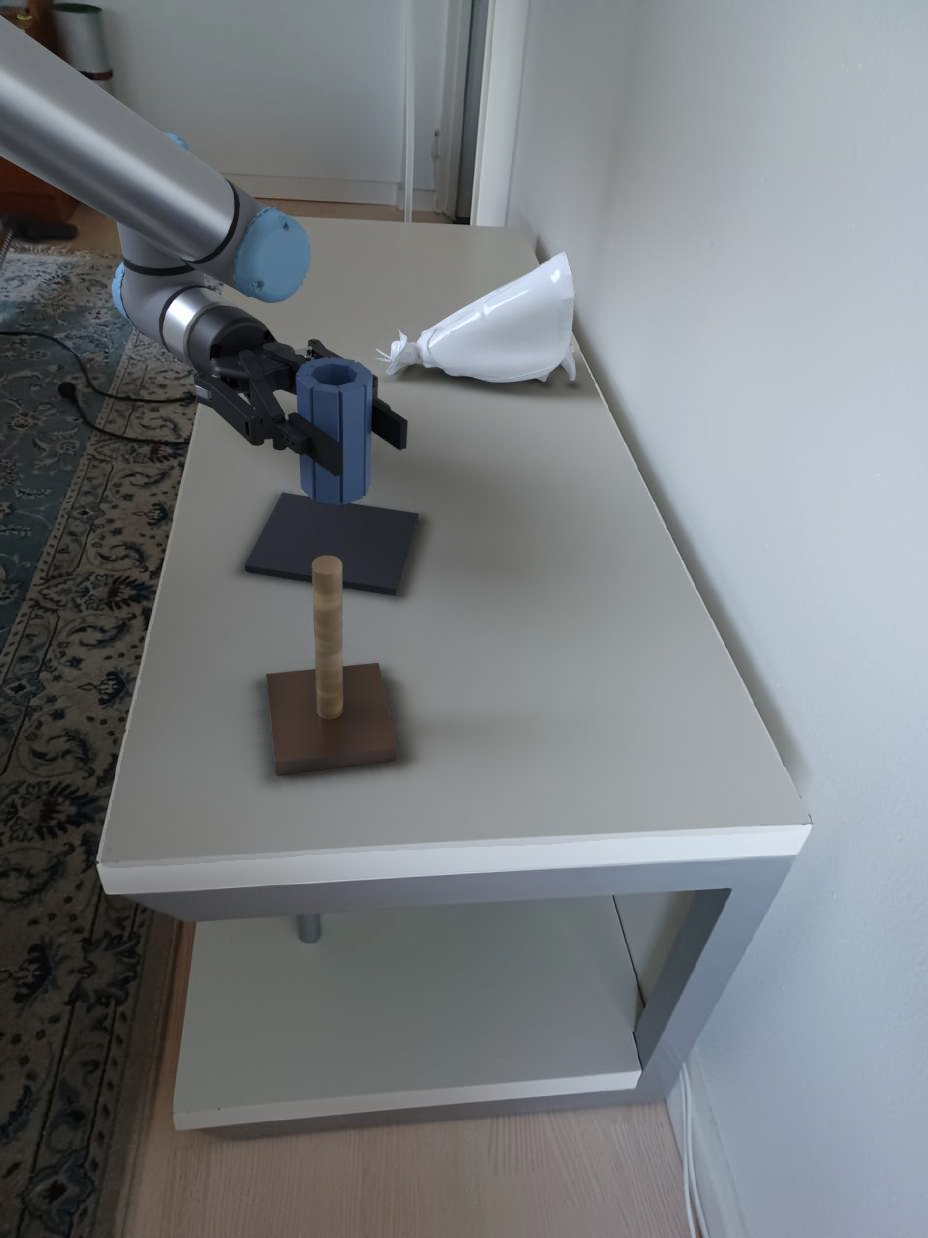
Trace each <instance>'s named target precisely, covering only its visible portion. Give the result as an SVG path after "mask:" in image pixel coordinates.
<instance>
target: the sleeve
mask: <svg viewBox="0 0 928 1238" xmlns="http://www.w3.org/2000/svg"><path fill="white" fill-rule="evenodd" d="M343 358H344V357H343ZM343 358H336V357H331V358H330V359H329V358H328V357H324V358H320V359H316V360H312V361H308V362H306V364H302V366H301V367H300V369H299V371H298V372H297V374H296V390H297V395H296V409H297V411H296V412H297V413H298V414H299V415H301V416H302V417H304V418H305V419H306V420H308V421H309V422H311V423H312V424H313V425H315V426H316V427H318V428H319V429H320V430H322V431H323V432H325V433H326V434H327V435H329V436H330V437H332V438H333V439H334V440H336V441H337V442H339V443H340V444H341V445H343V474H341V475H339V476H336V477H335V476H334V475H332V474H331V473H330V472H328V471H327V470H326V469H324V468H323V467H322V466H320V465H319V464H318V463H316V462H315V461H314V460H312V459H311V458H310V457H308V456H307V455H306V454H303V455H299V454H298V455H299V477H300V479H299V480H300V488H301V490H302V491H303V492H304V493H305V494H306V496H308V497H310V498H311V499H312V500H315V499H316V501H317V502H322V503H329V504H336V505H339V504H340V502H341V503H342V504H343V505H344V504H347V503H354V502H356V501H359V500H362V499H364V497H366V496H367V494H368V491H369V489H370V487H371V483H372V482H371V479H372V433H373V432H372V377H373V375H374V373H372V371H371V370H370V369H369V368H368V367H366V366H365V365H364V364H362V363H361V362H360V361H356V360H355V359H349V358H344V359H343Z"/></svg>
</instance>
